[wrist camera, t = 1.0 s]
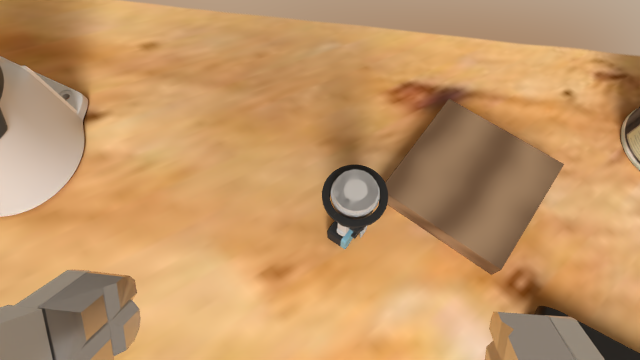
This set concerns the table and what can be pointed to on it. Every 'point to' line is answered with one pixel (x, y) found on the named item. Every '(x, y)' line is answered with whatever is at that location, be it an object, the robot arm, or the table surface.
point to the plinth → (472, 185)
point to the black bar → (598, 339)
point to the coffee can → (632, 137)
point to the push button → (353, 201)
